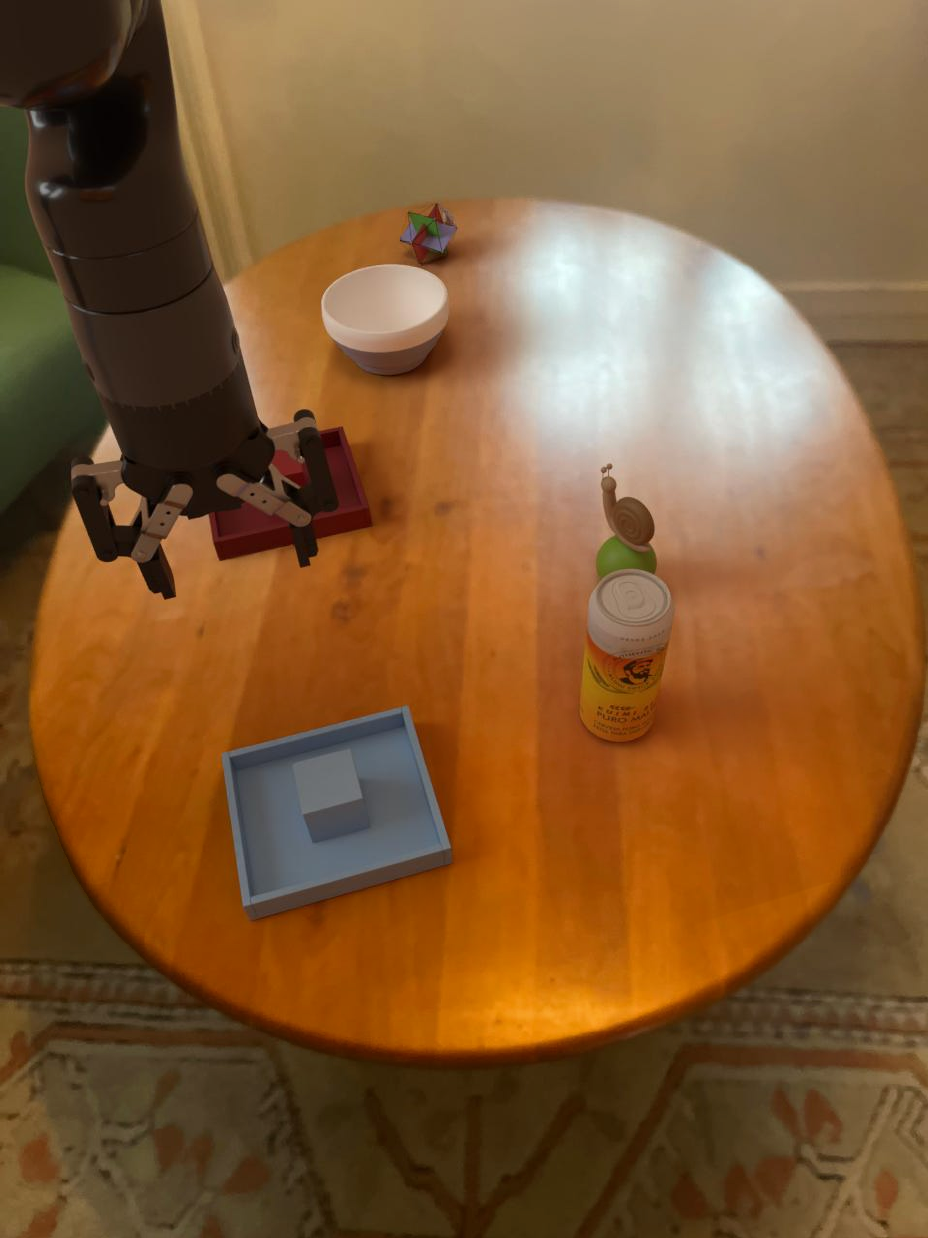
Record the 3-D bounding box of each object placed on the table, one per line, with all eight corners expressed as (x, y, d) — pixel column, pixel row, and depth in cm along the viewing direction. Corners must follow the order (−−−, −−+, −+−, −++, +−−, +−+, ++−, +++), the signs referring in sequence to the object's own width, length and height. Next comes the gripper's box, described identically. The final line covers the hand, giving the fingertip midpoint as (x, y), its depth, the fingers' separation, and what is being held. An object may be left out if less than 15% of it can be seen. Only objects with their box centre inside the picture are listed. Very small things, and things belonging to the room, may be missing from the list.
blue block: (312, 843, 72) (302, 814, 68) (302, 793, 75) (291, 763, 71) (370, 827, 72) (363, 798, 69) (358, 778, 75) (350, 747, 72)
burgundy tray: (219, 560, 92) (213, 542, 90) (205, 474, 100) (199, 456, 98) (372, 525, 94) (369, 507, 92) (345, 444, 103) (342, 425, 101)
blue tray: (250, 921, 69) (242, 907, 67) (228, 769, 77) (221, 753, 75) (453, 863, 71) (451, 847, 69) (410, 722, 79) (407, 704, 77)
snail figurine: (615, 547, 91) (626, 450, 82) (665, 585, 88) (683, 487, 78) (574, 575, 89) (581, 478, 80) (624, 614, 86) (637, 518, 76)
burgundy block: (266, 515, 95) (257, 481, 92) (260, 486, 98) (250, 452, 95) (310, 505, 96) (303, 471, 92) (303, 476, 99) (295, 442, 95)
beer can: (594, 755, 76) (608, 638, 65) (568, 696, 80) (577, 576, 69) (665, 736, 77) (691, 616, 66) (635, 678, 81) (655, 556, 70)
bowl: (440, 396, 107) (436, 337, 102) (316, 388, 109) (305, 330, 103) (461, 323, 116) (458, 265, 111) (346, 317, 118) (337, 260, 113)
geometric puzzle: (428, 266, 121) (446, 201, 119) (384, 253, 124) (400, 189, 121) (454, 276, 128) (471, 214, 125) (411, 263, 130) (427, 203, 128)
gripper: (292, 291, 51) (335, 510, 64) (21, 342, 49) (120, 558, 62) (316, 369, 47) (358, 589, 59) (18, 429, 45) (126, 644, 57)
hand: (236, 573), depth 60 cm, fingers open, 8 cm apart
